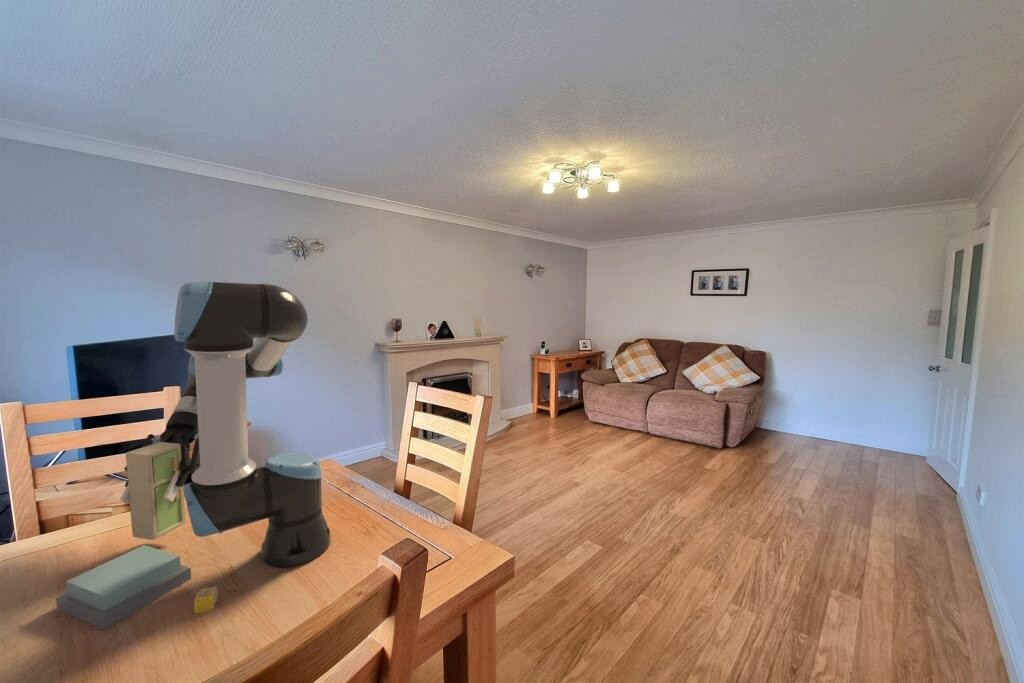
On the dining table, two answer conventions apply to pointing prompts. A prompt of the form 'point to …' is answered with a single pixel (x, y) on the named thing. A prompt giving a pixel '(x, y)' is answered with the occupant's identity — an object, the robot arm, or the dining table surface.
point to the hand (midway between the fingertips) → (146, 500)
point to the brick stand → (122, 586)
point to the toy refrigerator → (154, 490)
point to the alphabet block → (205, 599)
